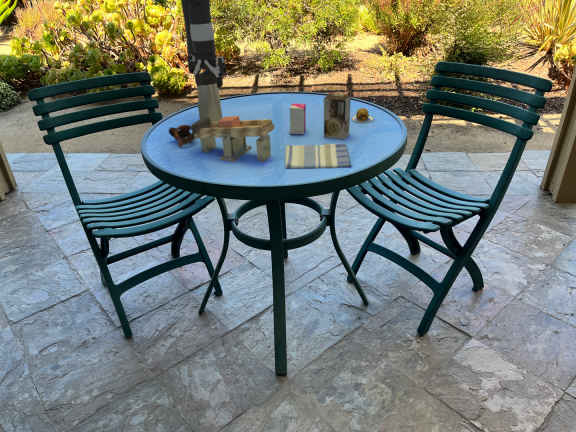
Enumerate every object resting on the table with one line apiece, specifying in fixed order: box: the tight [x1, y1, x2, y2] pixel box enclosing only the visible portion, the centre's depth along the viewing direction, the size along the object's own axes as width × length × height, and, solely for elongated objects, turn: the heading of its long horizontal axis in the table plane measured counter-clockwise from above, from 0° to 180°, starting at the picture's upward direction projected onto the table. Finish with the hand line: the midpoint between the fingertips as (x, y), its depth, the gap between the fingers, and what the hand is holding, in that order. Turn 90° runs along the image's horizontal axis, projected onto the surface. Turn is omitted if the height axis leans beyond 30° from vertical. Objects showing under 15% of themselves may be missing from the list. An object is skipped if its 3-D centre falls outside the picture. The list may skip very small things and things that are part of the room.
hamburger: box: [352, 107, 374, 123], centre depth 182 cm, size 12×12×6 cm
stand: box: [199, 133, 272, 163], centre depth 155 cm, size 26×13×10 cm, turn 66°
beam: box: [190, 117, 276, 139], centre depth 152 cm, size 30×8×5 cm, turn 65°
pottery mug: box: [168, 124, 196, 148], centre depth 168 cm, size 12×10×8 cm
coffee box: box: [323, 92, 351, 140], centre depth 165 cm, size 9×6×16 cm
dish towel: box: [284, 143, 352, 169], centre depth 152 cm, size 17×24×3 cm
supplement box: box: [289, 102, 307, 136], centre depth 170 cm, size 6×6×12 cm
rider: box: [218, 115, 241, 128], centre depth 152 cm, size 6×5×4 cm
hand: (209, 86), depth 149 cm, fingers open, 8 cm apart
